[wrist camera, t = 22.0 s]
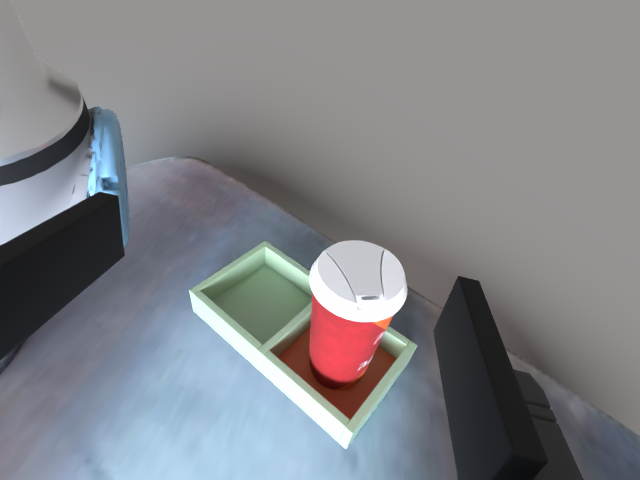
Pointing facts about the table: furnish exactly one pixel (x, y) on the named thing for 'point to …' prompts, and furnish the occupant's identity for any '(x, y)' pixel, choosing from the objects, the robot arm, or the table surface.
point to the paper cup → (351, 309)
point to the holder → (292, 337)
